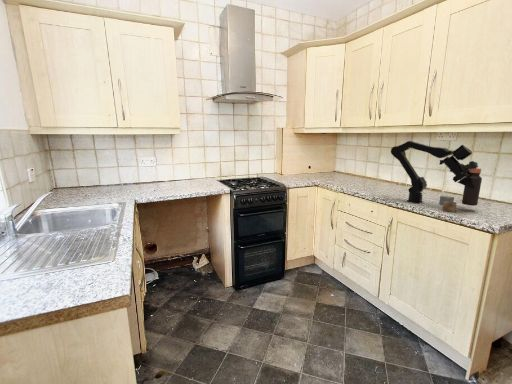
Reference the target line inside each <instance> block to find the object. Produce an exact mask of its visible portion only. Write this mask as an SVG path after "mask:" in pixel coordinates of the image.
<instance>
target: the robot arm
mask: <svg viewBox="0 0 512 384" xmlns="http://www.w3.org/2000/svg"><path fill="white" fill-rule="evenodd" d="M409 149H414V150H418V151H421V152H424V153H427V154H430V155H431V156H434V157H435V158H438V159H439V165H443V164H444V165H445V166H446V167H447V168H448V169H449V172H451V173H452V174H453V175H455V176H453V177H452V181H453V182H454V183H458V184H460V185H463V186H467V187H469V188H471V189H474V188H475V187H474V186H473V184H472V183H471V181H470V180H469V174H470V172H469V170H470V169H472V168H473V169H474V168H479V165H478V162H477V161H474V160H472V161H469V163H467V164H464V163H461V162H459V161H464V160H465V159H466V158H468V157H470V156H471V155H473V151H472V150H471V149H470V148H468V147H467V146H465V145H464V144H461V145H460V146H459V147H458V148H456V149H455V150H449V148H446V147H440V146H431V145H428V144H427V145H426V144H424V143H419V142H416V141H413V140H408V141H406V142H404V143H402V144H400V145H397V146H396V145H395V146H393V147H391V149H390V154H391V155H392V156H393V157H394V158H395V159H397V161H398V162H399V163H400V164H401V166H402V168H403V170H404V171H405V172H406V174H407V176H408V178H409V179H410V183H411V187H409V188H408V199H407V200H406V201H407V202H409V203H410V202H411V203H414V204H418V203H423V201H422V200H423V193H422V192H423V191H424V190H425V189H426V188H427V186H428V182H427V181H426V179H425V177H424V176H420V175H418V174H417V173H418V172H417V171H416V170H415V169H414V167H413V166H412V163H410V161H409V159H408V157H407V155H406V154H407V153H406V151H408V150H409ZM448 156H450V157H448ZM442 158H443V159H442Z"/></svg>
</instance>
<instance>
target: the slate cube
mask: <svg viewBox="0 0 512 384" xmlns="http://www.w3.org/2000/svg"><path fill="white" fill-rule="evenodd" d="M454 200H455V196H450V195H440V196H439V202H438V205H442V206H443V205H444V202H445V201H450V202H455V201H454Z"/></svg>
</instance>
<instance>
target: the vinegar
mask: <svg viewBox="0 0 512 384" xmlns="http://www.w3.org/2000/svg"><path fill="white" fill-rule="evenodd" d="M469 172H470V174H469V180H470V181H471V183H472V184H473V186H474V187H475V188H474V189H471V188H469V187H467V186H465V185H463V186H464V187H463V192H462V200H461V204H462V205H466V206H471V207H473V206H475V207H476V206H478V203H479V197H480V191H481V185H482V180H483V179H482V176H481V175H480V174H481V173H482V168H480V167H477V168H474V169H473V168H472V169H469Z"/></svg>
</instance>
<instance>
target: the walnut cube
mask: <svg viewBox="0 0 512 384" xmlns="http://www.w3.org/2000/svg"><path fill="white" fill-rule="evenodd" d="M456 207H457V202H455V201H454V202H450V201H445V202H444V205H442V212H446V213H447V212H448V213H451V214H452V213H455V211H456Z"/></svg>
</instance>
